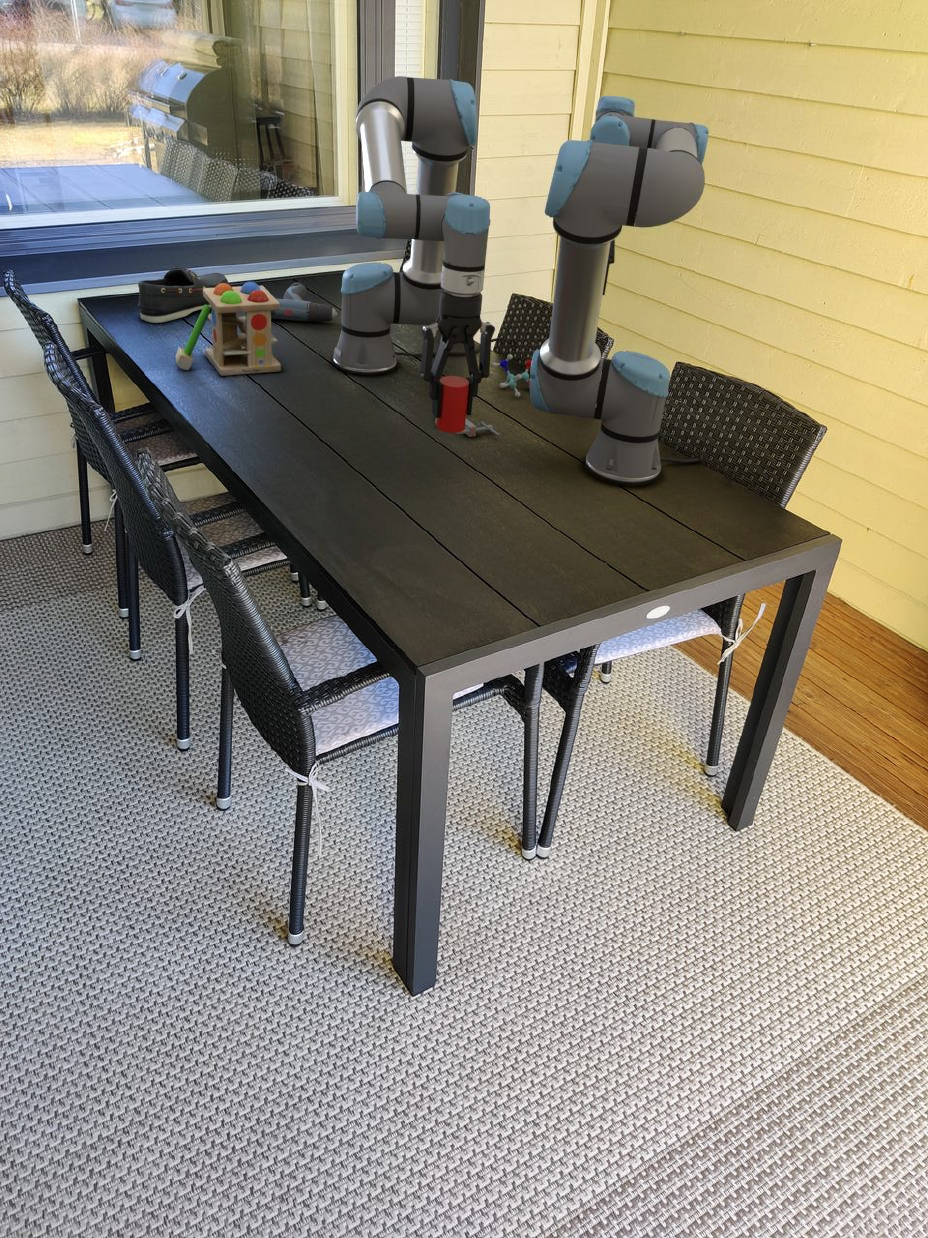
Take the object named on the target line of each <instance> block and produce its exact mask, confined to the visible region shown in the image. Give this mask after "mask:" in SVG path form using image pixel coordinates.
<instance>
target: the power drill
mask: <svg viewBox="0 0 928 1238" xmlns="http://www.w3.org/2000/svg"><path fill="white" fill-rule="evenodd" d="M307 295H308V290H307V287H306V285H304V284H303V283H301V282H293V283H292V284H291V285H290V286H289V287H288V288H287V289H286V291H285V292H284V294H283V297H282V298H275V299H276V300H277V301H278V302H279V303H280V310H271V319H274V320H275V319H276V320H283V321H294V322H295V321H297V322H332V321H333V320H334V319H336V318H337V317H338V312H337V311H336V308H334V307H333V306H332V305H331V304H324V303H317V302H313V301H307V300H305V299H306V297H307Z"/></svg>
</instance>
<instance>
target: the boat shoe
mask: <svg viewBox="0 0 928 1238" xmlns="http://www.w3.org/2000/svg"><path fill="white" fill-rule="evenodd" d="M221 283H226V284H228V285H230V282H229V280H228V279H227V277H226V276H225V274H223V273H220V272H211V273H205V274H201V275H198V274H197V273H195V272H194V271H192V270H190V269H189V268H182V267H180V266H176V267H173V268H171V269H170V270H168V271H167V272H166V273H165V274H164V276H163V277H162V278H158V279H143V280H139V281H138V282H137V285H138V286H137V287H138V293H139V294H138V295H139V296H138V301H139V302H138V303H137V307H139V308H140V319H141V320H143V321H145V322H148V323H152V324H158V323H160V324H161V323H166V322H170V321H173V320H177V319H181V318H184V317H187V316H188V315H190V314H191V313H193V312H196V311H199V310H202V309H203V307H204V305H208V306H210V307H211V305H210V304H209V302H208V301H207V300H206V299H205V297H204V296H203V289H204V288H215V287H216V286H217V285H218V284H221Z"/></svg>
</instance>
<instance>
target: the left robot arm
mask: <svg viewBox="0 0 928 1238" xmlns="http://www.w3.org/2000/svg"><path fill="white" fill-rule="evenodd" d="M477 114H478V113H477V102H476V94H475V90H474V88H473V86H472V85H471V84H470V83H469V82H467V81H466V82H465V81H460V80H459V81H457V80H453V79H451V78H450V79H441V78H440V79H439V78H426V77H425V78H424V77H412V76H411V77H409V76H403V75H398V76H391V77H387V78H386V79H383V80H381V81H380V82H378V83H376V84H375V85H373V86H372V87H371V88H370V89H368V91H367V92H366V93H365V94H364V96H363V97H362V98H361V100H360V102H359V104H358V106H357V107H356V112H355V131H356V135H357V137H358V140H360V142H361V145H362V147H361V148H362V160H363V161H362V163H363V173H364V189H365V191H360V192H358V193H357V195H356V201H355V202H356V203H355V204H356V205H355V206H356V207H355V220H356V221H355V223H356V225H355V227H356V232H357V234H358V235H360V236H361V237H368V238H375V239H378V240H381V239H391V240H392V239H393V240H411V245H410V258H408V259H407V260H406V261H405V262H404V263H403V266H402V271H394V268H393V266H392V265H391V264H388V263H384V262H383V263H382V262H376V261H375V262H374V261H373V262H364V263H363V262H362V263H358V264H355V265H352V266H350V267H348V268H346V269H345V271H344V272H343V274H342V281H341V287H340V293H341V319H340V321H341V324H340V325H341V326H340V329H341V330H340V336H339V338H338V341H337V344H336V346H335V347H334V350H333V361H332V362H333V363H332V364H333V366H334V367H335V368H337V369H338V370H339V371H342V372H344V373H347V374H352V375H356V376H380V375H381V376H382V375H386V374H389V373H391V372H393V371H395V369H396V368H397V361H398V360H397V356H405V357H417V358H418V357H421V359H420V368H419V369H420V370H419V376H420V378H422V380H424V382H426V383H428V382H429V383H428V384H429V385H428V398H430V400H431V401H432V407H431V414H433V416H434V417H435V419H436V418H440V416H441V403H442V390H443V384H442V383H441V382H440V379H441V378H442V375H443V373H444V369H445V367H446V363H447V361H448V358H449V355H457V356H458V355H461V356H464V355H465V359H466V363H467V369H468V375H469V377H464V378H465V379H467V380H468V381H469V390H468V401H467V412H466V417H467V416H469V417H471V416H472V411H473V402H474V401H473V400H474V398H477V396H478V392H479V384H481V383H482V380H483V379H488V378H489V377H490V369H491V353H492V352H491V351H492V343H495V342H498V341H504V340H503V339H504V338H502V337H503V336H502V337H501V336H500V337H501V338H500V337H495V338H493V336H494V334H495V331H496V327H495V326H494V325H493V324H492V323H491V322H490V321H486V322H484V321H482V318H481V313H482V308H483V307H482V305H483V294H482V292H483V290H484V283H485V273H486V259H487V249H488V239H489V231H490V230H489V229H490V226H491V204H490V202H489V200H487V199H486V198H483V197H481V196H478V195H472V194H464V193H461V192H456V190H457V180H458V171H459V170H458V169H459V163H460V162H461V161H463V160H464V159H465V158H466V157H467V155H468V147H469V148H472V147H475V146H476V144H477V139H478V138H477V137H478V116H477ZM402 142H406V143H411V150H412V153H414V154H415V155H416V157H417V167H416V168H417V171H416V181H415V193H408V188H407V187H408V186H407V179H406V172H405V161H404V154H403V146H402ZM391 325H413V326H421V333H422V336H423V341H422V350H421V353H410V352H400V351H395V347H394V343H393V341H392V337H391V336H392V335H391ZM437 331H439V333H440V334H441V336H440V339H439V346H438V349H437V351H434V348H435V338H436V336H437ZM478 332H479V333H480V337H479V338H480V340H479V344H478V348H477V349H475V348H476V345H475V340H474V337H475V336H476V335H477V333H478ZM499 338H500V340H499ZM508 341H509V342H511V343H513V344H514V345H517V344H516V343H515V342H512V341H510V340H508ZM458 344H462V345H463V349H464V351H454V350H453V347H454V345H458ZM452 350H453V351H452ZM477 353H479V357H478V358H479V359H478V360H477ZM434 356H435V357H434ZM433 358H434V359H433Z"/></svg>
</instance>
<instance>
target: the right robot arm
mask: <svg viewBox="0 0 928 1238" xmlns="http://www.w3.org/2000/svg"><path fill="white" fill-rule="evenodd" d="M635 108H636V103H635V101H634V100H633V99H632V98H629V97H624V96H617V95H616V96H615V95H603V96H601V97H599V98H598V101H597V106H596V109H595V118H594V124H593V125H592V127H591V129H590V134H589V139H587V140H576V139H568V140H566V141H564V142H563V143H562V144H561V145H560V147H559V149H558V154H557V158H556V161H555V166H554V170H553V174H552V177H551V183H550V186H549V190H548V194H547V199H546V204H545V208H544V214H545V216H547V217H549V218H552V228H553V230H554V232H555V233H556V234H557V235H558V236H559V244H558V245H559V247H558V248H559V249H558V256H557V264H556V265H557V266H556V274H555V282H554V283H555V284H554V292H553V293H554V294H553V302H552V311H551V321H550V329H549V338H547V339H546V340H545V341H544V342H542V345H541V346H540V349H536V350H534V352H533V354H532V358H531V360H532V362H531V366H530V368H529V370H530V372H529V373H530V374H529V379H530V389H529V397H530V402H531V405H532V406H533V408H534V409H536V410H538V411H540V412H546V413H549V414H553V415H555V414H558V415H565V416H573V417H579V418H586V419H593V420H600V421H601V422H600V423H601V424H600V427H599V431H598V433H597V435H596V437H595V439H594V441H593V443H592V444H591V446H590V448H589V450H588V452H587V453H586V456H585V462H584V467H585V470H586V471H587V473H589V474H590V475H591V476H592V477H594V478H595V479H597V480H599V481H601V482H604V483H607V484H611V485H614V486H620V487H631V488H634V487H635V488H636V487H637V488H638V487H644V486H645V487H646V486H649V485H652V484H654V483H655V482H657V481H658V480H659V479H660V474H661V470H662V463H661V462H663V463H664V462H665V463H675V464H694V463H698V462H699V458H697V457H696V458H688V459H683V458H681V459H680V458H674V457H673V458H672V457H661V456H660V448H659V447H660V446H659V435H660V430H661V425H662V422H663V421H662V420H663V415H664V410H665V406H666V400H667V397H668V396H669V393H670V392H669V387H670V380H671V375H670V374H671V373H670V371H669V369H668V368H667V366H666V365H665V364H664V363H663V362H661V361H659V360H658V359H657V358H654V357H652V356H649V355H647V354H645V353H644V354H643V353H641V352H637V351H630V350H626V351H623V350H621V351H616V352H614V353H613V355H612V356H611V359H609V358H604V357H603V358H602V354H601V353H602V352H601V350H600V347H599V346H598V344H597V343H596V339H597V333H598V327H599V318H600V315H601V314H600V313H601V306H602V300H603V296H605V294H606V291H607V290H606V289H607V283H608V277H609V270H610V265H612V264H615V259H616V256H615V255H616V254H615V253H616V252H615V251H616V250H615V249H616V239H618V237H619V236H620V235H621V233H622V230H623V227H624V226H625V227H631V228H632V227H633V228H640V229H641V228H643V229H644V228H654V227H659V226H664V225H667V224H670V223H672V222H674V221H676V220H678V219H680V218H682V217H683V216H685V215H687V214H688V213H689V212H690V211H692V210H693V209H694V208H695V207H696V205H698V202H699V201H700V200H701V198H702V195H703V193H704V191H705V190H704V189H705V185H706V177H705V169H704V167H703V163H704V160H705V156H706V152H707V151H706V150H707V147H708V141H709V133H710V131H709V128H708V126H706V125H704V124H697V123H694V122H681V121H672V120H661V119H655V118H648V117H647V118H646V117H639V116H635Z"/></svg>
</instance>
